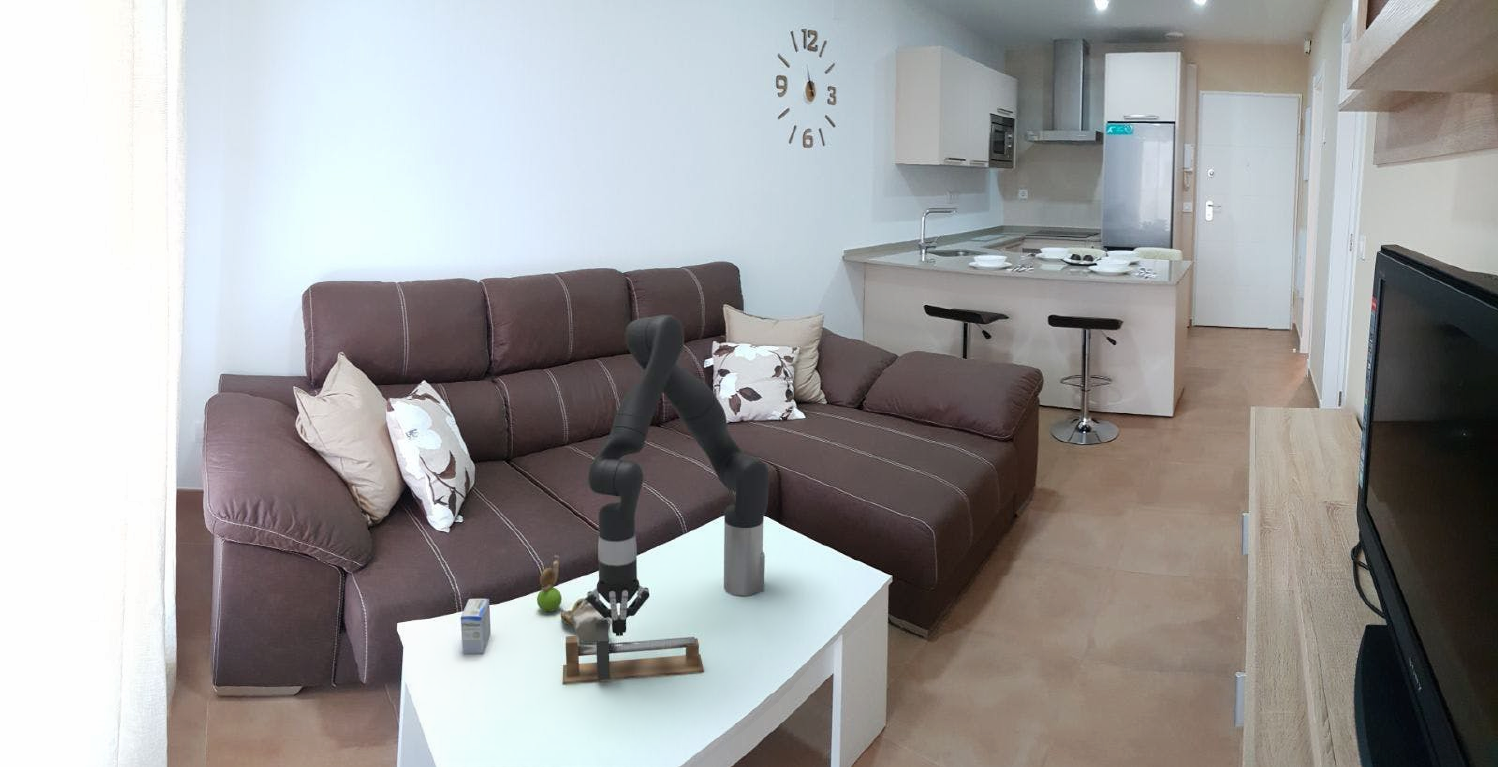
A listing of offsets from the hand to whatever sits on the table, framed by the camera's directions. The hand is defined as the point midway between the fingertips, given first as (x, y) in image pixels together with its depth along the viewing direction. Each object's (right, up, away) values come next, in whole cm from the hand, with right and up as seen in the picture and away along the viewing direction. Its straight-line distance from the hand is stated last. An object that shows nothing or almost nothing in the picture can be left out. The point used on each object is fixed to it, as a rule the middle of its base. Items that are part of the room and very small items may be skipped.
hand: (619, 633), depth 191 cm
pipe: (+3, -3, -2) cm, 5 cm away
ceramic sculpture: (-9, -3, +14) cm, 17 cm away
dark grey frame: (-3, -6, -2) cm, 7 cm away
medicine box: (-31, -4, +8) cm, 32 cm away
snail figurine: (-19, -1, +23) cm, 30 cm away
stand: (+3, -7, -1) cm, 8 cm away
